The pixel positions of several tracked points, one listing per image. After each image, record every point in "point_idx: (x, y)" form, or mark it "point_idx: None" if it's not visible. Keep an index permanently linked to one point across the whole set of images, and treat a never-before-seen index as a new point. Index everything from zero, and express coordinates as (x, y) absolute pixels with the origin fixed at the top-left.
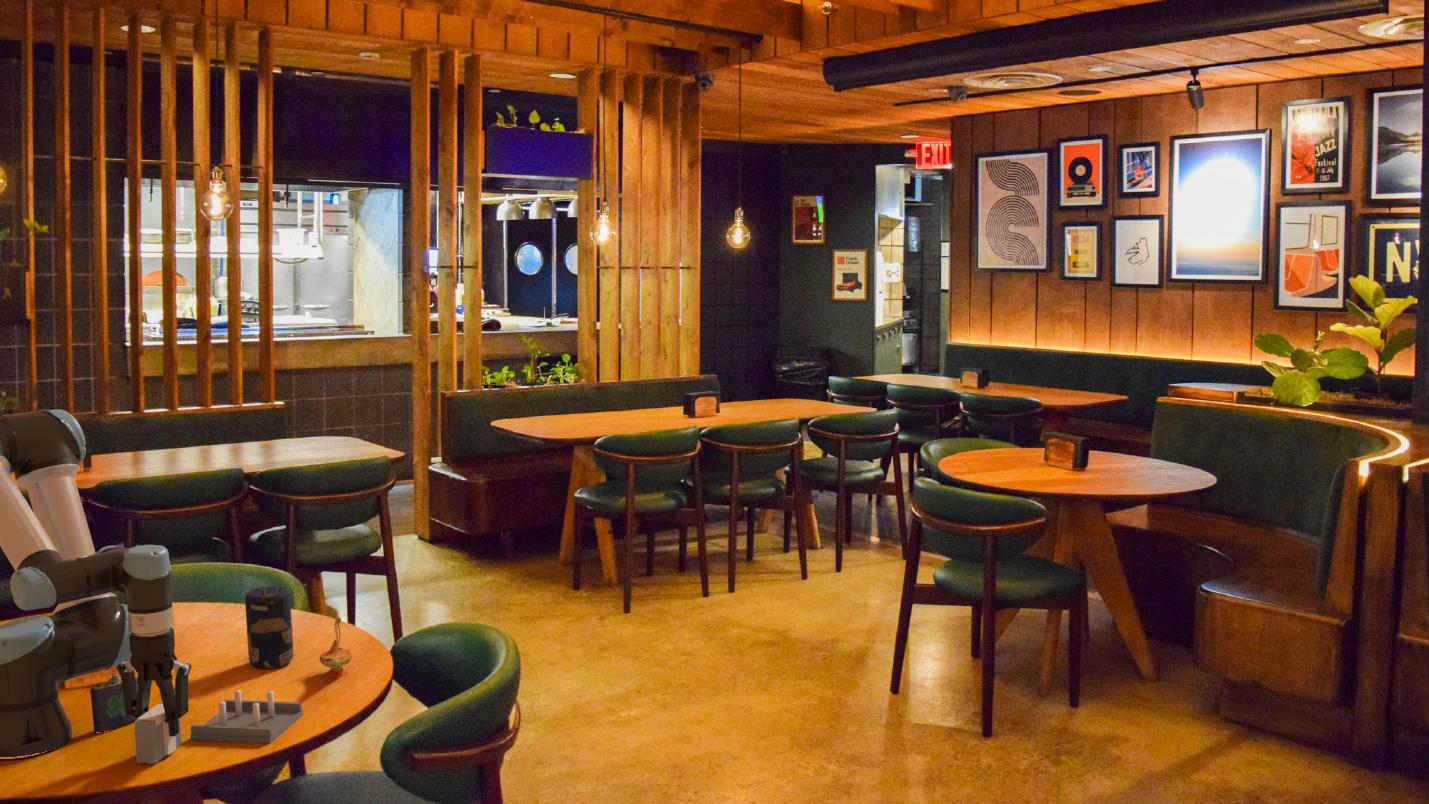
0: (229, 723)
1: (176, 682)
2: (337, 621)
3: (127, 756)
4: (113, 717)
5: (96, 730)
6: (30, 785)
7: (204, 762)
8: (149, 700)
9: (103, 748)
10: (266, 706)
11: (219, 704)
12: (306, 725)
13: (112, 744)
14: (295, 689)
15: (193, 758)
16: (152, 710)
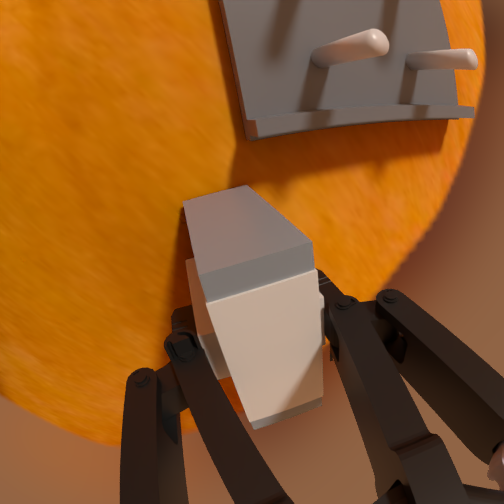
0: (317, 26)
1: (471, 442)
2: None
3: (150, 306)
4: None
5: None
6: (109, 434)
7: (374, 251)
8: (224, 394)
9: (45, 293)
10: None
11: (371, 53)
12: (454, 17)
13: (39, 265)
14: None
15: (339, 244)
16: (245, 365)
